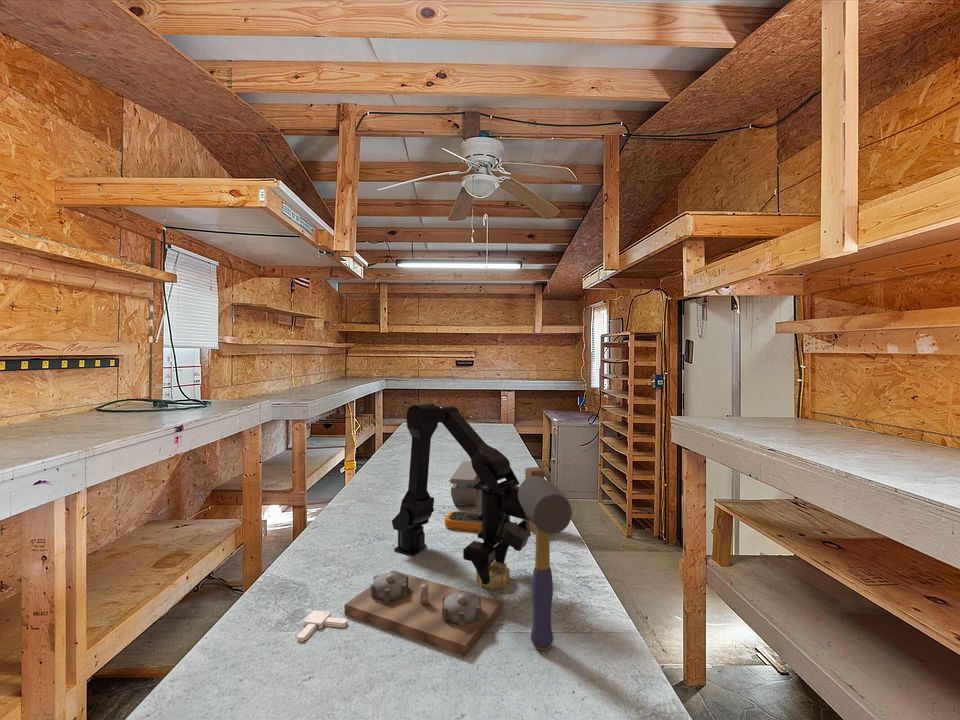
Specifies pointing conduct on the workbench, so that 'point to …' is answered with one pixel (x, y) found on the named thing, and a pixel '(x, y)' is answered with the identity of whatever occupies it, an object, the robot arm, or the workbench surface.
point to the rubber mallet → (543, 548)
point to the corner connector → (319, 623)
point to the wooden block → (530, 473)
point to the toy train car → (465, 485)
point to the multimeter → (463, 521)
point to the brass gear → (496, 576)
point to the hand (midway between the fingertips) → (492, 576)
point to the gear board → (426, 611)
